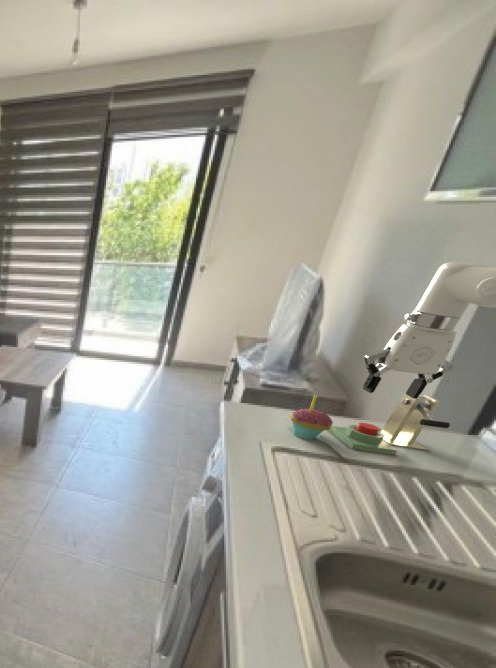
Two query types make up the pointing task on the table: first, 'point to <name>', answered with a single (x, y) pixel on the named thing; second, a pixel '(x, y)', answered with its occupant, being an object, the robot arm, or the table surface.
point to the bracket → (407, 422)
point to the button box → (362, 440)
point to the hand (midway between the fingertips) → (389, 393)
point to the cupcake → (310, 422)
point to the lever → (429, 415)
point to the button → (367, 428)
